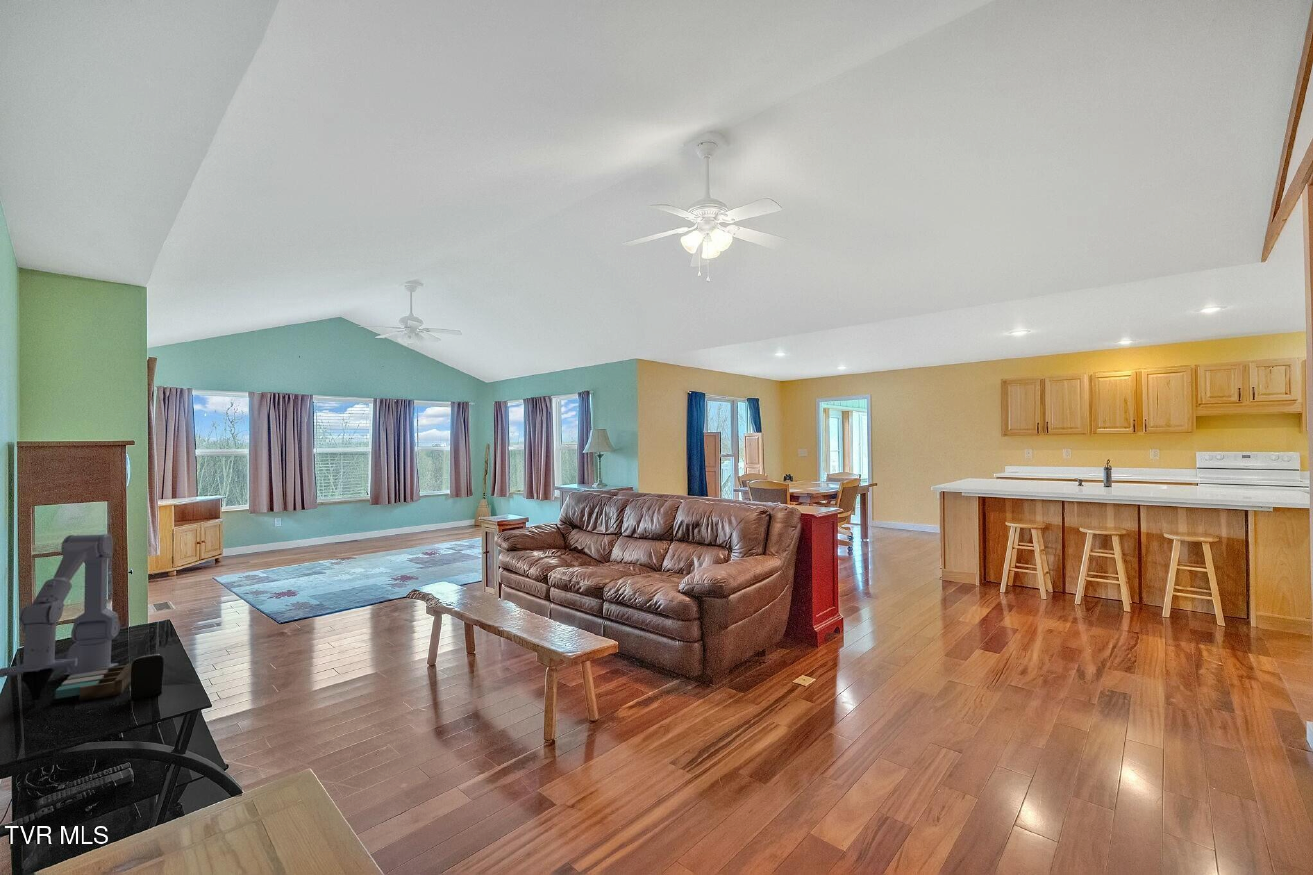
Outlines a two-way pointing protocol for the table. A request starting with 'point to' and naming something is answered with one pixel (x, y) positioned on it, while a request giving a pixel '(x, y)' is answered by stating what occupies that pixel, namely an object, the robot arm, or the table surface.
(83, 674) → the light grey rectangular block
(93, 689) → the walnut key block
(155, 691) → the battery charger
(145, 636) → the table surface
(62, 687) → the teal flat slab
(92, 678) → the off-white rectangular box
